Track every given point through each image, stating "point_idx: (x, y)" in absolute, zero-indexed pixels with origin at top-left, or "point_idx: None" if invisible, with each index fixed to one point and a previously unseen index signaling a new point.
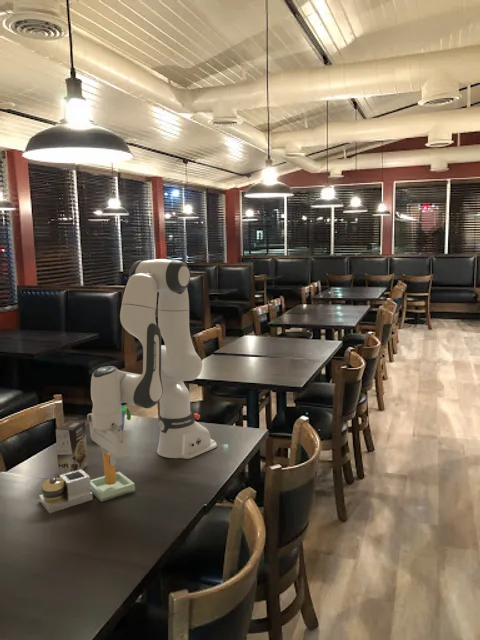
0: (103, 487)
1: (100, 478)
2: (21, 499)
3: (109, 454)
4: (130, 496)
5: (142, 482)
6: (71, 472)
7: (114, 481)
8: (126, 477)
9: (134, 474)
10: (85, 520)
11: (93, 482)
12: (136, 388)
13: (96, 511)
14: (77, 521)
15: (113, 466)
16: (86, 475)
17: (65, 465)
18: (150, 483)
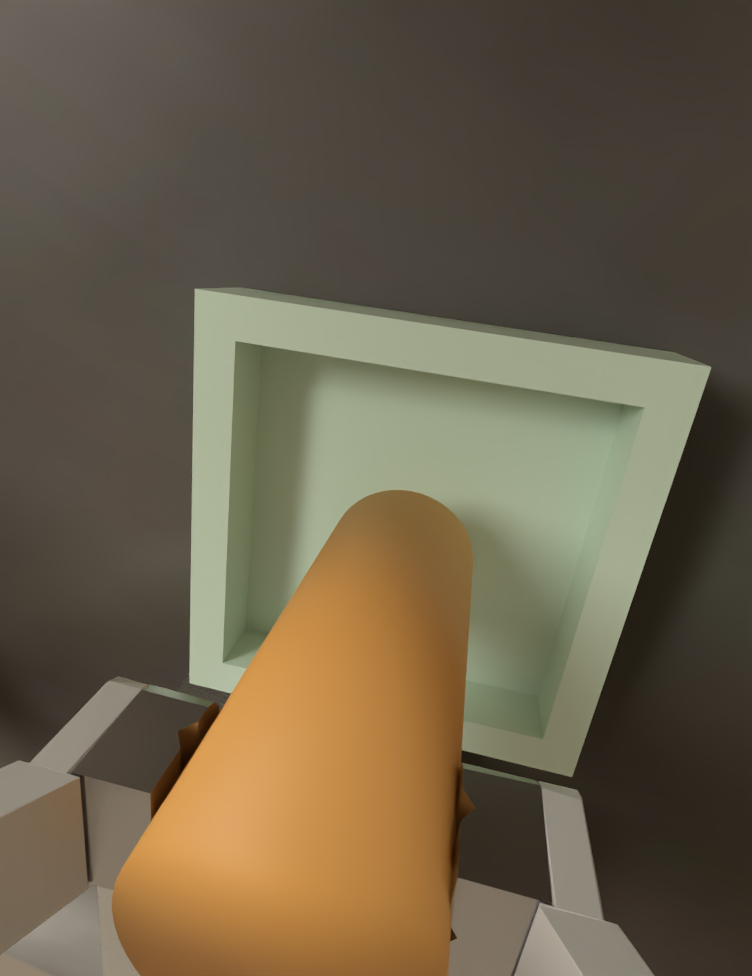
0: None
1: (221, 567)
2: (93, 937)
3: (243, 933)
4: (735, 471)
5: (551, 110)
6: (120, 963)
7: (472, 562)
8: (433, 329)
9: (247, 46)
10: (722, 940)
11: (230, 630)
12: None
13: (676, 827)
14: (677, 968)
15: (462, 721)
16: None
17: None
18: (683, 25)
